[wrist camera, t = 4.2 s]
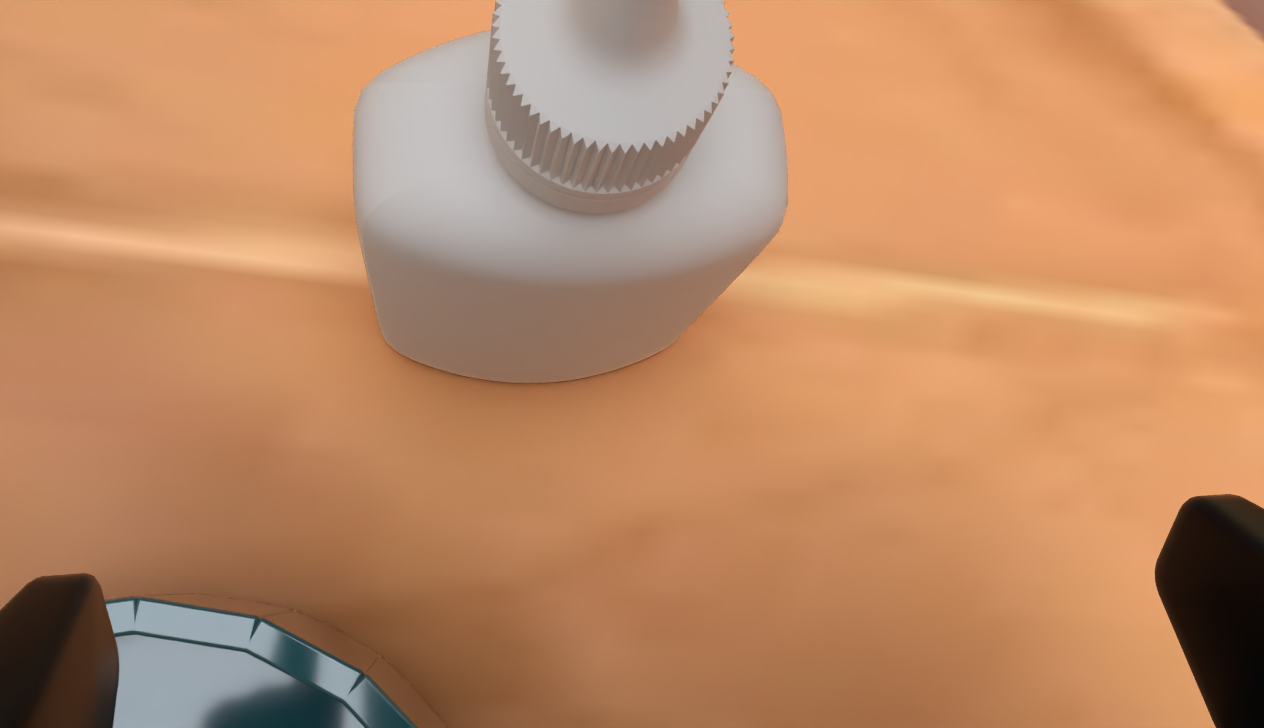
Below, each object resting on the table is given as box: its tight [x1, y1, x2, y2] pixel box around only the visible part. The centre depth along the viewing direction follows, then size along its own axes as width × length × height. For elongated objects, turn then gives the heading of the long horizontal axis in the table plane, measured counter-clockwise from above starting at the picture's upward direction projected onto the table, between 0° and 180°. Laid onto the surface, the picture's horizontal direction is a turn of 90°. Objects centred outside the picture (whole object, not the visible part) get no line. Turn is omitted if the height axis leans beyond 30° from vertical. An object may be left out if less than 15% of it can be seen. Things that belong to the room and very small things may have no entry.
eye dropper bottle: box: [353, 0, 788, 383], centre depth 16 cm, size 4×6×12 cm
